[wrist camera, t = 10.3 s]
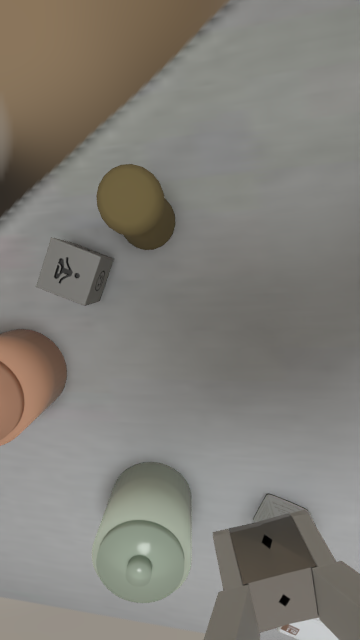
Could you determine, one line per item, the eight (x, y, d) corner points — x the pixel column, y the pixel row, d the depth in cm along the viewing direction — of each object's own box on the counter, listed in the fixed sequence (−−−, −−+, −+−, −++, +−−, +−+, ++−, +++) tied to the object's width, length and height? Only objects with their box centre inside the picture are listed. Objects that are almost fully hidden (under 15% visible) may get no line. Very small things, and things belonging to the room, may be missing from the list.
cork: (144, 179, 32) (121, 131, 21) (186, 219, 32) (185, 192, 21) (108, 223, 33) (68, 199, 22) (150, 261, 33) (130, 256, 22)
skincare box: (309, 509, 37) (366, 620, 25) (293, 537, 38) (342, 659, 26) (264, 491, 37) (300, 595, 25) (249, 520, 38) (277, 635, 26)
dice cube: (71, 242, 33) (51, 237, 28) (114, 259, 33) (101, 256, 28) (58, 284, 34) (36, 287, 29) (99, 300, 34) (84, 305, 29)
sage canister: (141, 447, 37) (122, 509, 27) (207, 491, 37) (212, 567, 28) (97, 505, 38) (65, 584, 29) (162, 546, 39) (152, 637, 29)
